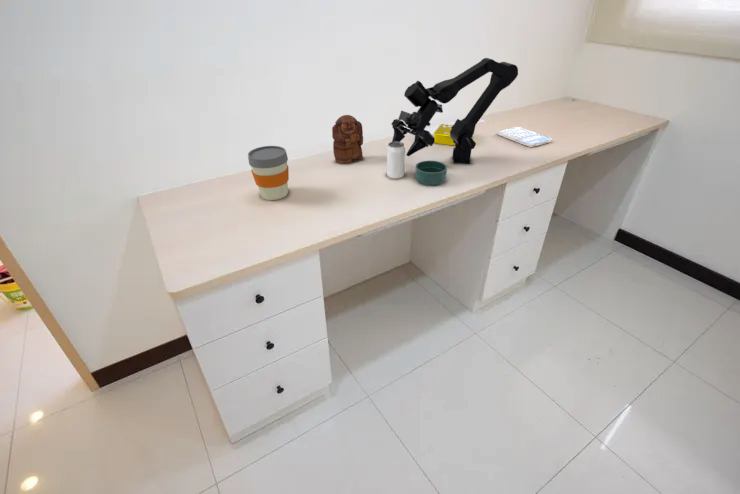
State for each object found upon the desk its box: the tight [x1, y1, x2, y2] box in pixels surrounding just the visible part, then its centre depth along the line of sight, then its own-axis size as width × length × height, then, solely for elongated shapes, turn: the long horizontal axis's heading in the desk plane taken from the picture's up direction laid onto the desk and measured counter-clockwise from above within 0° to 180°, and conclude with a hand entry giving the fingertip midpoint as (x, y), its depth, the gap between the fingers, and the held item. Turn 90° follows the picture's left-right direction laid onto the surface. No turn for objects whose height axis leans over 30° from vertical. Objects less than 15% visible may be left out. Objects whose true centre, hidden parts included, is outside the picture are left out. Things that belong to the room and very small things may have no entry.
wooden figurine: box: [331, 114, 364, 165], centre depth 147 cm, size 12×6×18 cm, turn 120°
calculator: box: [498, 126, 553, 148], centre depth 169 cm, size 13×20×2 cm, turn 29°
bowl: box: [414, 160, 448, 187], centre depth 135 cm, size 11×11×5 cm
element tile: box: [433, 123, 455, 147], centre depth 168 cm, size 15×15×5 cm
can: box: [386, 141, 406, 180], centre depth 136 cm, size 6×6×12 cm
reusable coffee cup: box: [247, 145, 290, 201], centre depth 125 cm, size 13×13×15 cm
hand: (399, 151), depth 135 cm, fingers open, 9 cm apart
